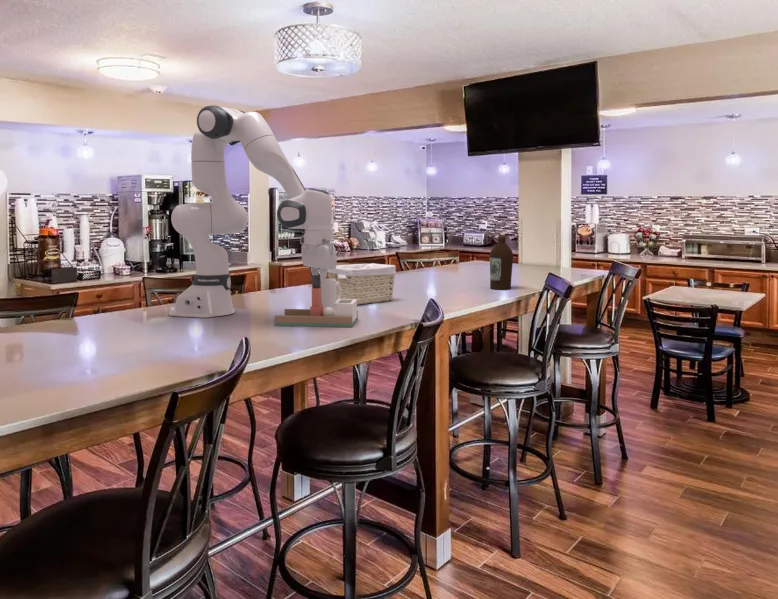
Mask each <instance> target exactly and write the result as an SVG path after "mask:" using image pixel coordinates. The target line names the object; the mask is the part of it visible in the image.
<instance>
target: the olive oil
mask: <svg viewBox="0 0 778 599" xmlns="http://www.w3.org/2000/svg"><path fill="white" fill-rule="evenodd" d="M506 236H507V235H506V234H498V238H497V240H498V241H497V244H496V245H495V246H494V247H493V248H492V249H491V250H490V253H489V280H490V281H489V282H490V283H489V286H490V289H491V290H496V291H497V290H498V291H508V290H511V289H512V276H513V275H512V274H513V265H514V253H513V250H512V249H511V247H510V246H509V245H508V244H507V243H506V241H507V240H506Z"/></svg>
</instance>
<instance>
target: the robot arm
mask: <svg viewBox="0 0 778 599" xmlns="http://www.w3.org/2000/svg"><path fill="white" fill-rule="evenodd" d="M196 126H197V128H198V130H197V131H196V132H194V133H193V136H192V141H191V156H190V160H191V182H192V185H193V186H194V188H195V189H197V190H198V191H200V192H202V193H204V194H206V195H207V196H209V197H210V198H211V202H189V203H184V204H179V205H176V206H175V207H174V208H173V210H172V212H171V217H170V218H171V219H170V220H171V224H172V227H173V228H174V230H175V231H176V232H177V233H178V234H180V235H181V236H182V237H184V238H185V239H186V240H187V241H188V243H189V244H190V246H191V249H192V250H193V255H194V259H195V260H194V261H195V270H196V271H195V274H194V275H192V276H191V277H189V281H190V282H191V285H190V286H189V287H188V288H187V289H185V290H184V291H182V292H181V293H180V294H179V295H178V296H177V298H176V301H175V304H174V305H175V306H174V309H171V310H170V311H169V312H168V316H170V317H171V316H172V317H182V318H183V317H184V318H187V317H188V318H202V319H205V318H207V319H208V318H212V317H222V316H228V315H232V314H235V312H236V311H235V308H234V304H233V300H232V295H231V285H232V283H231V282H232V281H231V274H230V272H229V271H230V270H229V269H230V268H229V253H228V252H227V250H226V249H225V248H224V247H222V246H221V245H218V244H216V243H214V242H212V241H211V239H210V238H209V237H210V236H211V235H233V234H238V233H242V232H244V231H245V229H246V228H247V227H248V223H249V216H248V211H247V210H246V208H245V207H244V206H243V205H241V204H240V203H239V202H238V201H237V200H236V199H235V198H234V197H233V195H232V194H231V193H230V190H229V188H228V184H227V178H226V167H225V166H226V165H225V149H226V147H227V145H230V146H234V145H237V144H239V143H240V144H241V147H242V148H243V151H244V153H245V155H246V156H247V159H248V161H249V162H250V163H251V164H252V165H253V167H254V168H255V169H257V170H258V171H260V172H262V173H264V174H267V175H268V176H270V177H272V178H273V179H275V180H276V182H278V184H280V185H281V187H282V189H283V190H284V192H285V193H286V195H287V197H288V199H286V200H283V201H281V202H280V203H279V205H278V207H277V209H276V217H277V221H278V222H279V224H280V225H281V226H282V227H284V228H286V229H291V230H304V234H303V235H302V236H301V237H300V239H299V242H300V243H299V244H301V262H302V265H303V266H304V267H310V272H311V276H312V275H320V277H319V282H322V283H323V282H326V279H327V277H328V269H336V266H337V265H338V263H337V262H338V261H337V250H336V247H335V246H334V244H333V228H332V227H333V226H332V218H333V205H332V198H331V194H330V193H329V192H328V191H327V190H324V189H320V188H311V187H310V188H307V189H306V188H305V187H304V185H303V183H302V182H301V180H300V178H299V176H298V174H297V173H296V170H295V168H293V166H292V164H290V162H289V160H288V158H287V156H286V155H285V153H284V152H283V150H282V148H281V146H280V144H279V142H278V139H277V138H276V135H275V134H274V132H273V130H272V129H271V127H270V125H269V124H268V123H267V121H266V120H265V118H264V117H263V115H262V114H260V113H259V112H257V111H246V112H245V111H243V110H239V109H236V108H233V107H230V106H218V105H214V104H213V105H212V104H211V105H206V106H204V107H202V108H201V109H200V110H199V112H198V114H197V116H196ZM319 272H320V274H319Z"/></svg>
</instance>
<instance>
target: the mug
mask: <svg viewBox="0 0 778 599" xmlns="http://www.w3.org/2000/svg"><path fill="white" fill-rule="evenodd" d="M336 286H337V287H338V290H339V295H338V298H337V299H336ZM341 294H342V290H341V286H340V283H339V282H336V279H329V278H326V282H323V283H322V282H321V302H322V304H323V309H324V308H326V307H331V308H332V309H333V310H334V303H335V302H336V301H337V300H339V299H341Z"/></svg>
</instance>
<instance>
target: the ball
mask: <svg viewBox="0 0 778 599" xmlns="http://www.w3.org/2000/svg"><path fill="white" fill-rule="evenodd" d="M322 315H323V316H334V310H333V309H332V308H331V307H326V308H324V309H323V311H322Z"/></svg>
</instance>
